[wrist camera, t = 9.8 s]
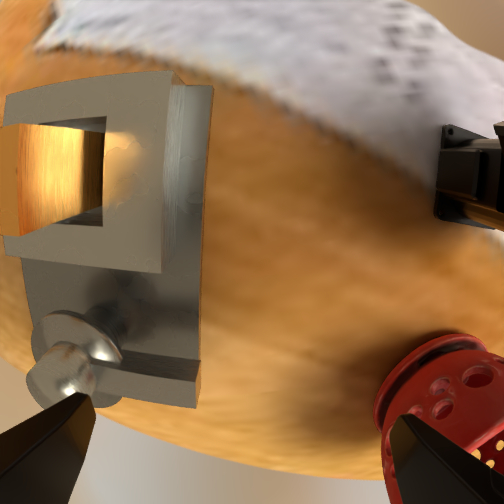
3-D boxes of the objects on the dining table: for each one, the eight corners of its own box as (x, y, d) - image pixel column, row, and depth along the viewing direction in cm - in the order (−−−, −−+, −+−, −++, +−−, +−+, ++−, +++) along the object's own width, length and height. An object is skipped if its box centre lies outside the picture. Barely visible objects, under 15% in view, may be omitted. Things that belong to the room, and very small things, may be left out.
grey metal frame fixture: (224, 89, 16) (202, 35, 8) (208, 376, 22) (191, 465, 14) (27, 104, 16) (-56, 94, 8) (44, 345, 21) (-9, 403, 13)
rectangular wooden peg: (118, 135, 16) (19, 123, 8) (115, 201, 17) (19, 236, 9) (77, 137, 16) (-27, 133, 8) (75, 200, 17) (-26, 232, 9)
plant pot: (500, 313, 21) (584, 384, 9) (449, 421, 24) (495, 500, 13) (382, 313, 20) (469, 434, 9) (339, 437, 24) (367, 546, 13)
